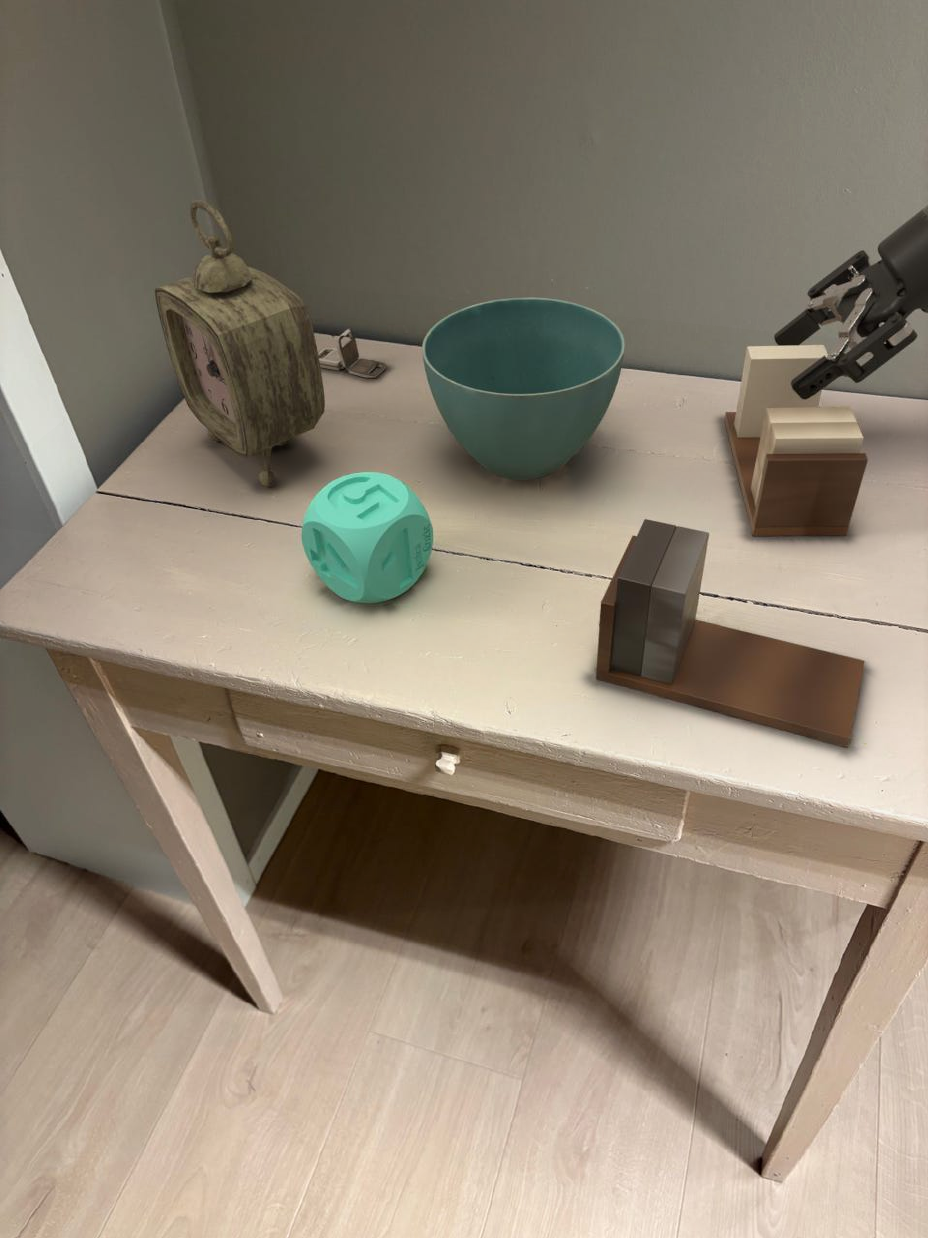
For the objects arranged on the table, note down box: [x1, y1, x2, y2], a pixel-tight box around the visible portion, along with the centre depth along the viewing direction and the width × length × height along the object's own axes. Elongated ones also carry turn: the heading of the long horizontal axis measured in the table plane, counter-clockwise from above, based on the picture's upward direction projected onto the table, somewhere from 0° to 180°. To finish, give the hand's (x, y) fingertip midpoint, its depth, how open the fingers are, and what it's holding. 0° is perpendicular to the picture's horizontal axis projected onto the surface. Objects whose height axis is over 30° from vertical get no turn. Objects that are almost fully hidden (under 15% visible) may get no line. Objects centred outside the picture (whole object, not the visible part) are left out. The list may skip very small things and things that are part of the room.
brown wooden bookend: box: [595, 518, 866, 748], centre depth 69 cm, size 18×8×10 cm, turn 67°
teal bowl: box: [421, 297, 626, 481], centre depth 91 cm, size 18×18×12 cm
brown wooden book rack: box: [724, 406, 869, 537], centre depth 87 cm, size 19×8×10 cm, turn 177°
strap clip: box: [318, 328, 387, 379], centre depth 108 cm, size 8×3×4 cm, turn 63°
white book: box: [734, 344, 829, 438], centre depth 91 cm, size 2×7×8 cm, turn 87°
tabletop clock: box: [154, 199, 326, 487], centre depth 89 cm, size 14×9×25 cm, turn 38°
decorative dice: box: [300, 471, 434, 604], centre depth 80 cm, size 8×8×8 cm
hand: (787, 367), depth 89 cm, fingers open, 8 cm apart
